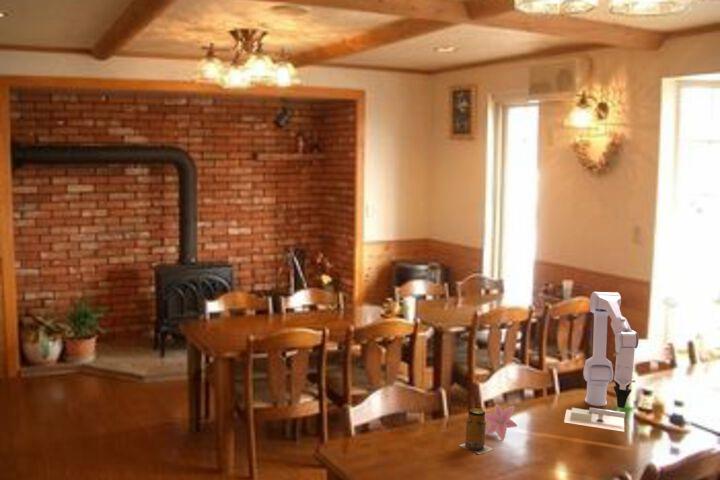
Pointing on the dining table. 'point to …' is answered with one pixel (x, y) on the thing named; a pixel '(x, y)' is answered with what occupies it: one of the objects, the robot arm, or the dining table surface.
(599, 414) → the t key
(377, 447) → the dining table surface
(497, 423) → the lily
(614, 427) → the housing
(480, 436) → the condiment
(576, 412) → the cover
